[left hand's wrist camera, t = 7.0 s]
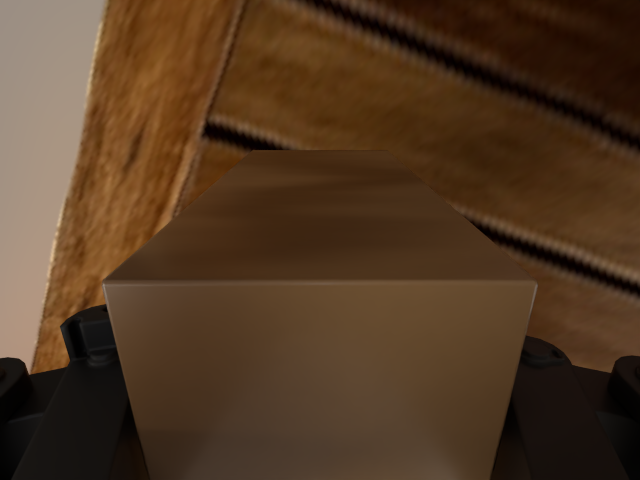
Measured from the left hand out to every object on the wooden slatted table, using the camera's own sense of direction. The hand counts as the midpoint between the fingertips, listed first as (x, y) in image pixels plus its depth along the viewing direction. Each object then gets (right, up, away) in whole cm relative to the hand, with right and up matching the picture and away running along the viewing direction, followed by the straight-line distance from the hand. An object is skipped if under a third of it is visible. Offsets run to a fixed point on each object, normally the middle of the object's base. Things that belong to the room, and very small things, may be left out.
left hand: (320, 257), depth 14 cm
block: (0, +1, +2) cm, 2 cm away
